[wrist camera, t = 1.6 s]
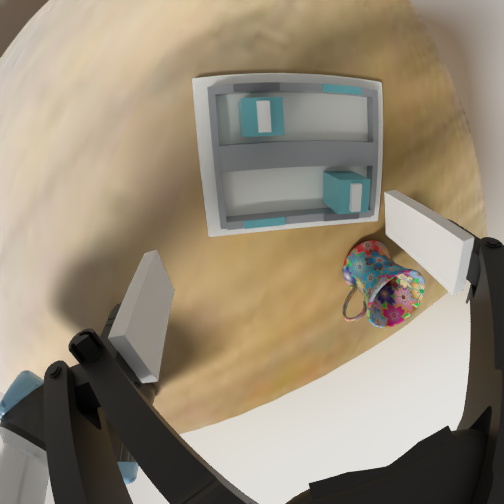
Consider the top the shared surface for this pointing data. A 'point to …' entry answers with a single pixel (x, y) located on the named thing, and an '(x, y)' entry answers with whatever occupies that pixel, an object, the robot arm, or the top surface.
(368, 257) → the mug
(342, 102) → the switch board
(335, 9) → the top surface
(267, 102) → the tab
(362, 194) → the tab
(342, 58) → the top surface
